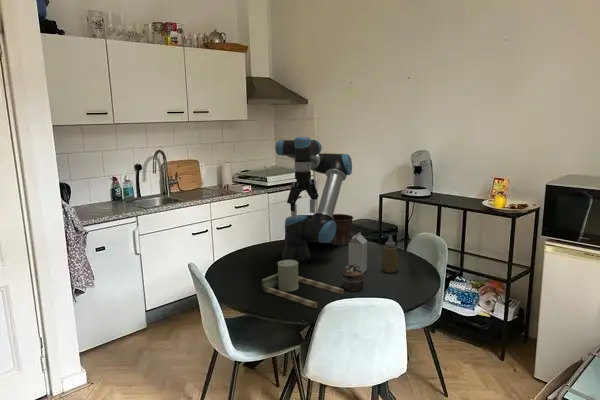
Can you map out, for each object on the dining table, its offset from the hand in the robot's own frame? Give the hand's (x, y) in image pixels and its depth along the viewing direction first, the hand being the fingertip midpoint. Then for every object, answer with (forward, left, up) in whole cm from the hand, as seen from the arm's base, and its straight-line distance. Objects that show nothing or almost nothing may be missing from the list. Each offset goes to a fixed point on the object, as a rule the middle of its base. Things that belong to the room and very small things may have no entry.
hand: (303, 215), depth 214 cm
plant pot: (-17, +53, -29) cm, 63 cm away
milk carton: (+19, +18, -29) cm, 39 cm away
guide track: (+15, -19, -29) cm, 37 cm away
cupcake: (+29, -1, -29) cm, 41 cm away
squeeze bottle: (+31, +28, -29) cm, 51 cm away
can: (+7, -19, -29) cm, 35 cm away
